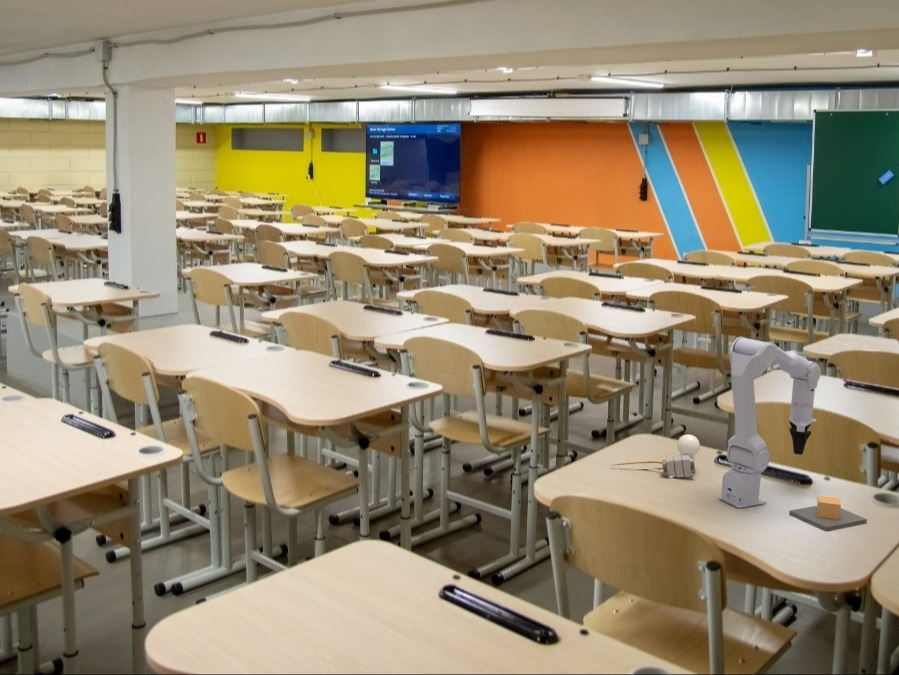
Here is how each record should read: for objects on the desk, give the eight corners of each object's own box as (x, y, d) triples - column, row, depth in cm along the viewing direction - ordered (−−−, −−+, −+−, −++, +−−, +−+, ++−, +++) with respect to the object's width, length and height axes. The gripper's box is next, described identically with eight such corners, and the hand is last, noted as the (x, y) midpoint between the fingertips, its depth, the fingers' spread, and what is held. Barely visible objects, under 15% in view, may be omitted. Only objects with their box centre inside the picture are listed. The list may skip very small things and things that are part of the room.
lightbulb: (700, 474, 268) (702, 438, 266) (677, 474, 268) (680, 437, 266) (695, 468, 274) (697, 432, 272) (673, 467, 274) (676, 431, 273)
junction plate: (825, 531, 228) (827, 517, 227) (789, 514, 239) (790, 501, 238) (866, 522, 234) (867, 509, 233) (829, 506, 245) (830, 494, 244)
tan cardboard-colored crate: (839, 519, 233) (840, 504, 232) (817, 516, 235) (818, 501, 234) (838, 512, 238) (839, 498, 237) (816, 510, 239) (817, 495, 239)
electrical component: (611, 484, 269) (608, 467, 268) (612, 477, 274) (609, 461, 274) (696, 476, 263) (693, 459, 262) (695, 469, 269) (693, 453, 268)
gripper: (818, 410, 248) (813, 459, 251) (817, 398, 261) (812, 444, 264) (790, 408, 250) (786, 456, 253) (790, 395, 264) (786, 441, 266)
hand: (797, 450), depth 259 cm, fingers open, 7 cm apart
